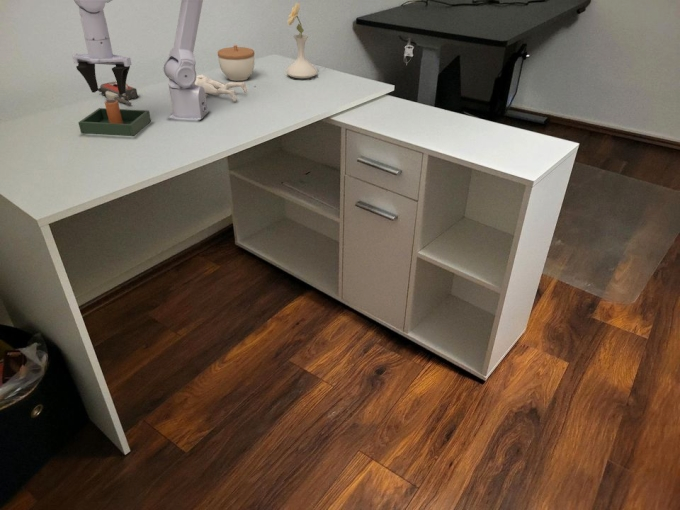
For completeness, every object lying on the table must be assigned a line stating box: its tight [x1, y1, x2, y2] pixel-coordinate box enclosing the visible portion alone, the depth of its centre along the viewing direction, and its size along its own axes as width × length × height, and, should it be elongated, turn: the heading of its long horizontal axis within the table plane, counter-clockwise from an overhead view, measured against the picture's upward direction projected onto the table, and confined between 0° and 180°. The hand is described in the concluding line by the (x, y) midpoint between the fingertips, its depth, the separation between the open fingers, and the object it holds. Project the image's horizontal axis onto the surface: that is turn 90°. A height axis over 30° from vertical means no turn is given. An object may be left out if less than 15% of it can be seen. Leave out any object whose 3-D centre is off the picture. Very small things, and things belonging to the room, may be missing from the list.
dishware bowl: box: [217, 44, 255, 82], centre depth 182 cm, size 13×13×11 cm
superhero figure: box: [195, 73, 248, 103], centre depth 169 cm, size 12×6×25 cm
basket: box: [77, 107, 152, 137], centre depth 143 cm, size 15×12×4 cm
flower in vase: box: [285, 2, 318, 79], centre depth 181 cm, size 13×11×25 cm
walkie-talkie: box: [97, 80, 139, 106], centre depth 164 cm, size 9×4×20 cm
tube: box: [104, 100, 123, 124], centre depth 141 cm, size 3×3×7 cm
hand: (108, 92), depth 138 cm, fingers open, 7 cm apart
